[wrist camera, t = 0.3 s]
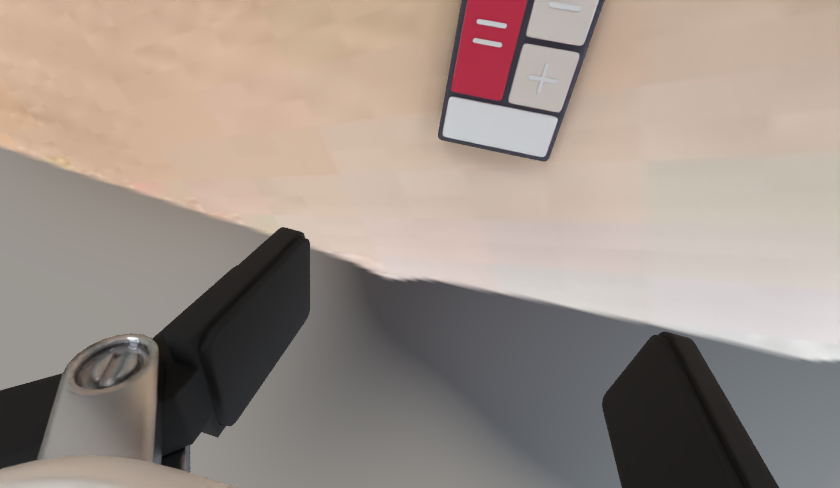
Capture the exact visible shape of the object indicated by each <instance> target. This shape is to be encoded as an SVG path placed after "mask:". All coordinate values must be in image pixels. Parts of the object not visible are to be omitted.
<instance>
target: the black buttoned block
mask: <svg viewBox="0 0 840 488" xmlns="http://www.w3.org/2000/svg"><path fill="white" fill-rule="evenodd" d="M603 3H604V0H462V4H461V9H460V15H459V20H458V26H457V32H456V37H455V43H454V48H453V54H452V59H451V65H450V71H449V76H448V82H447V87H446V93H445V99H444V104H443V110H442V115H441V121H440V126H439V132H438V137H439V139H441V140H444V141H448V142H453V143H458V144H463V145H467V146H472V147H477V148H482V149H486V150H491V151H496V152H501V153H505V154H510V155H515V156H520V157H524V158H529V159H534V160H539V161H547V160H548V159H549V157H550V154H551V151H552V148H553V146H554V143H555V140H556V137H557V134H558V131H559V128H560V126H561V123H562V120H563V117H564V114H565V111H566V108H567V106H568V103H569V100H570V97H571V94H572V91H573V88H574V86H575V83H576V80H577V77H578V74H579V71H580V68H581V66H582V63H583V60H584V57H585V54H586V51H587V48H588V46H589V43H590V40H591V37H592V34H593V31H594V28H595V26H596V23H597V20H598V17H599V14H600V11H601V8H602V6H603Z"/></svg>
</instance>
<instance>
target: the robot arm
mask: <svg viewBox="0 0 840 488" xmlns="http://www.w3.org/2000/svg"><path fill="white" fill-rule="evenodd" d="M309 311H310V242H309V240H308V239H305V236H304V233H302V232H299V231H296V230H292V229H288V228H285V227H281V228H280V229H278V230H277V231H276V232H275V233H274V234H273V235H272V236H271V237H269V238H268V239H267V240H266V241H265V242H264V243H263V244H261V245H260V246H259V247H258V248H257V249H256V250H255V251H254V252H252V253H251V254H250V255H249V256H248V257H247V258H246V259H245V260H243V261H242V262H241V263H240V264H239V265H237V266H236V267H234V268H233V269H231V270H230V271H229V272H228V273H227V274H225V275H224V276H223V277H222V278H221V279H220V280H219V281H217V282H216V283H215V284H214V285H213V286H212V287H211V288H210V289H209V290H207V291H206V292H205V293H204V294H203V295H202V296H200V297H199V298H198V299H197V300H196V301H195V302H194V303H192V304H191V305H190V306H189V307H188V308H187V309H186V310H184V311H183V312H182V313H181V314H180V315H179V316H178V317H177V318H175V319H174V320H173V321H172V322H171V323H170V324H169V325H168V326H166V327H165V328H164V329H163V330H162V331H161V332H159V334H157V335H156V336H155V337H154V338H153V339H152V338H150V337H147V336H145V335H141V334H124V335H116V336H113V337H110V338H106V339H103V340H101V341H99V342H97V343H95V344H92V345H90V346H89V347H87V348H86V349H84V350H83V351H82V352H80V353H78V354H77V355H76V356H75V357H74V358H73V359H72V360H71V362H69V364H68V365H67V367H66V368H65V370H64V372H63V373H62V374H59V375H55V376H52V377H48V378H44V379H40V380H37V381H33V382H30V383H26V384H22V385H19V386H15V387H11V388H8V389H4V390H1V391H0V488H237V487H234V486H230V485H227V484H224V483H221V482H218V481H215V480H211V479H208V478H205V477H202V476H199V475H196V474H193V473H190V445H191V444H193V442H194V441H195V439H196V438H197V437H198V436H199V434H200V433H201V432H203V433H206V434H209V435H212V436H215V437H219V435H220V433H221V432H222V431H223V429H224V428H225V427H226V425H227V426H232V425H233V424H234V423H235V422H236V421H237V420H238V418H239V417H240V415H241V414H242V412H243V411H244V410H245V408H246V407H247V405H248V404H249V402H250V401H251V399H252V398H253V397H254V395H255V394H256V392H257V391H258V389H259V388H260V386H261V385H262V384H263V382H264V381H265V379H266V378H267V376H268V375H269V373H270V372H271V370H272V369H273V367H274V366H275V365H276V363H277V362H278V360H279V359H280V357H281V356H282V354H283V353H284V351H285V350H286V349H287V347H288V345H289V344H290V343H291V341H292V340H293V338H294V337H295V336H296V334H297V333H298V331H299V330H300V328H301V327H302V325H303V324H304V322H305V321H306V319H307V317H308V314H309ZM602 407H603V412H604V416H605V420H606V424H607V428H608V432H609V437H610V441H611V445H612V449H613V453H614V457H615V461H616V465H617V469H618V474H619V478H620V482H621V486H622V488H779V487H778V485H777V484H776V482H775V480H774V478H773V476H772V475H771V473H770V472H769V470H768V468H767V466H766V464H765V463H764V461H763V459H762V458H761V456H760V454H759V452H758V451H757V449H756V447H755V446H754V444H753V442H752V440H751V439H750V437H749V435H748V434H747V432H746V430H745V428H744V427H743V425H742V423H741V422H740V420H739V418H738V416H737V415H736V413H735V411H734V410H733V408H732V406H731V404H730V403H729V401H728V399H727V398H726V396H725V394H724V392H723V391H722V389H721V387H720V386H719V384H718V382H717V381H716V379H715V377H714V376H713V374H712V372H711V370H710V369H709V367H708V365H707V363H706V362H705V360H704V358H703V357H702V355H701V353H700V351H699V350H698V348H697V346H696V345H695V343H694V342H693V341H692V340H691V339H690V338H687V337H683V336H680V335H676V334H672V333H669V332H662V333H660V334H659V335H654V336H652V337H651V338H650V339H649V340H648V341H647V343H646V344H645V345H644V346H643V347H642V349H641V350H640V351H639V352H638V354H637V355H636V356H635V358H634V359H633V360H632V361H631V362H630V364H629V365H628V366H627V367H626V369H625V370H624V371H623V372H622V374H621V375H620V376H619V377H618V379H617V380H616V381H615V382H614V384H613V385H612V386H611V387H610V389H609V390H608V391H607V392H606V394H605V395H604V397H603V402H602Z"/></svg>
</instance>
